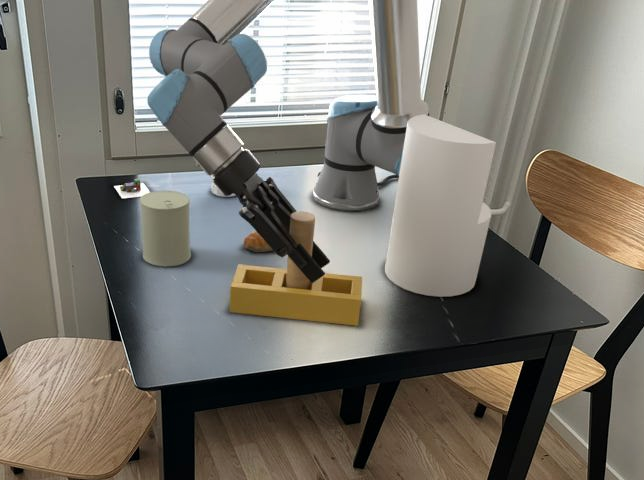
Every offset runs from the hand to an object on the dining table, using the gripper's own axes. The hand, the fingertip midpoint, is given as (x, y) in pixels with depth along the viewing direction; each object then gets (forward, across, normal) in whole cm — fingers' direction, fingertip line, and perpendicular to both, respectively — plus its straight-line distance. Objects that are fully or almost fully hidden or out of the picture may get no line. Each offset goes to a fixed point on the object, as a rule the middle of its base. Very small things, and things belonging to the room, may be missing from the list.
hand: (321, 271), depth 120 cm
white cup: (-16, -47, -27) cm, 57 cm away
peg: (+1, 0, -6) cm, 6 cm away
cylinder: (+18, -20, +7) cm, 28 cm away
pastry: (-5, -22, -16) cm, 28 cm away
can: (-17, -11, -28) cm, 35 cm away
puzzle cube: (-31, -40, -42) cm, 66 cm away
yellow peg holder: (+3, 0, -8) cm, 8 cm away
